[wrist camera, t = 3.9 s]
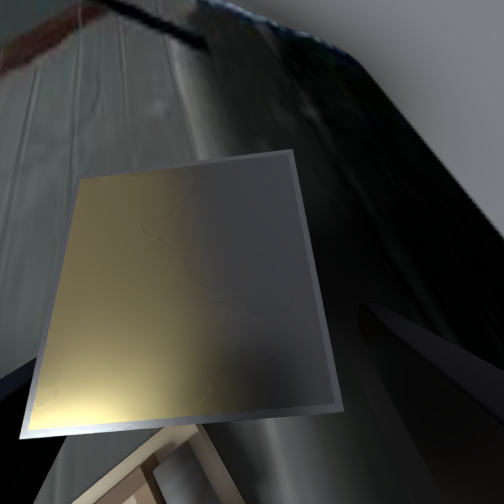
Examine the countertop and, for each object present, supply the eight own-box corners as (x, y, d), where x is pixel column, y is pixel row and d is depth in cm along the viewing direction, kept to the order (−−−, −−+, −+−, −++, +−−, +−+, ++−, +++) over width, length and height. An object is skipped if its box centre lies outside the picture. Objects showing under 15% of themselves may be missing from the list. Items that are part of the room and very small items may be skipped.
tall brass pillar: (284, 351, 15) (344, 411, 3) (216, 357, 15) (19, 439, 3) (275, 283, 17) (292, 149, 5) (214, 290, 17) (76, 175, 5)
